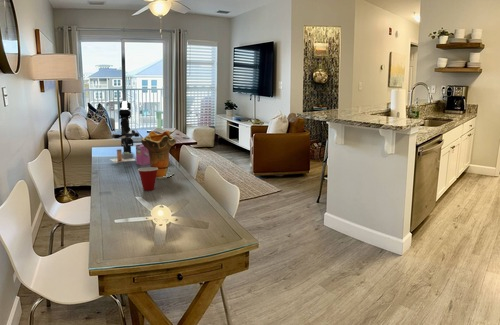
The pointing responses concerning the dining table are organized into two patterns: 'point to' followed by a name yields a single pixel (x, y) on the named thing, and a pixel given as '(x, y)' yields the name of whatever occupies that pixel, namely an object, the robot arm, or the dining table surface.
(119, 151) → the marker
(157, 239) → the dining table surface
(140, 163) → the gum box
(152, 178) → the plastic cup
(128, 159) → the square board tray
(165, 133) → the decorative vase
